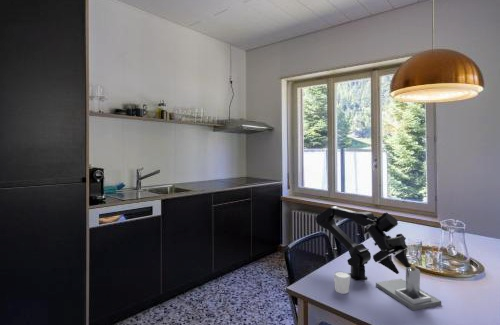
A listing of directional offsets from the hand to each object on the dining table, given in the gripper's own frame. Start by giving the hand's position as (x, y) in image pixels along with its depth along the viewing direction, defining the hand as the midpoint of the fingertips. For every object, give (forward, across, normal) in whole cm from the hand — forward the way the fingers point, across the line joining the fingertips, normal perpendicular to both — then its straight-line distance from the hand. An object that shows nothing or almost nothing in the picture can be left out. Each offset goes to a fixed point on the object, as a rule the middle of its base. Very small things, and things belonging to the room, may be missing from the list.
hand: (403, 270), depth 118 cm
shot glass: (-4, -17, +20) cm, 27 cm away
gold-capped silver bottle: (+9, 0, +4) cm, 10 cm away
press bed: (+8, +2, +7) cm, 11 cm away
